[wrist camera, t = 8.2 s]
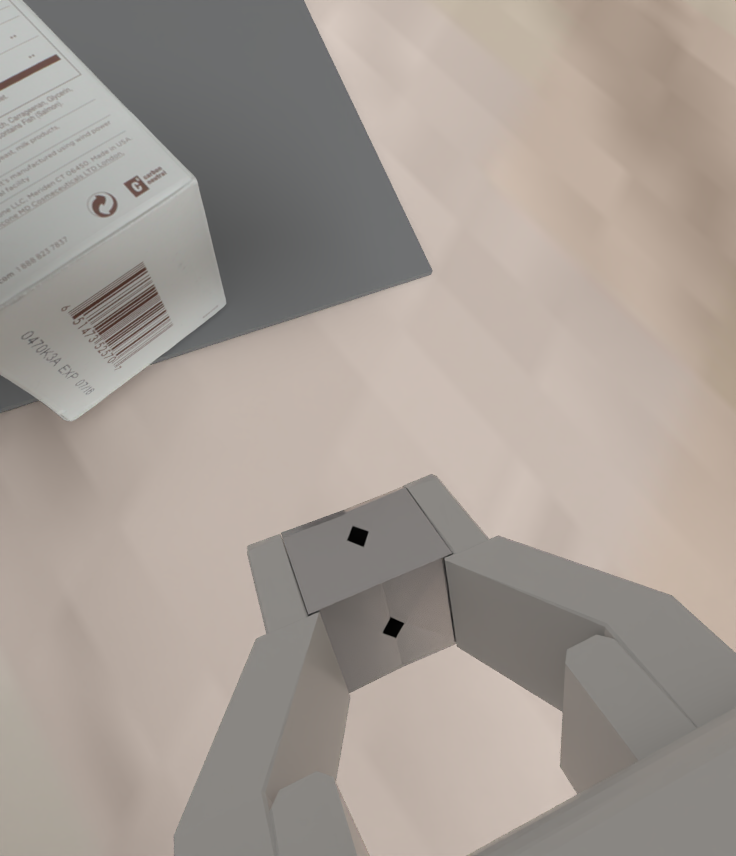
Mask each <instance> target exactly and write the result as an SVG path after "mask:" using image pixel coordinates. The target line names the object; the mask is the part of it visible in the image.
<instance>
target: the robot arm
mask: <svg viewBox="0 0 736 856" xmlns="http://www.w3.org/2000/svg"><path fill="white" fill-rule="evenodd" d="M281 535H282V537H281ZM282 538H283V539H282ZM247 555H248V559H249V563H250V567H251V572H252V576H253V580H254V584H255V588H256V592H257V597H258V601H259V605H260V609H261V613H262V617H263V622H264V626H265V630H266V635H263V636H261V637H259V638H257V639H256V640H255V642H254V645H253V647H252V650H251V652H250V654H249V657H248V659H247V662H246V664H245V666H244V669H243V671H242V674H241V676H240V678H239V681H238V683H237V686H236V688H235V690H234V693H233V695H232V698H231V700H230V702H229V705H228V707H227V710H226V712H225V714H224V717H223V719H222V722H221V724H220V726H219V729H218V731H217V733H216V736H215V738H214V741H213V743H212V745H211V748H210V750H209V753H208V755H207V757H206V760H205V762H204V765H203V767H202V769H201V772H200V774H199V777H198V779H197V781H196V784H195V786H194V789H193V791H192V793H191V796H190V798H189V801H188V803H187V805H186V808H185V810H184V813H183V815H182V817H181V820H180V822H179V825H178V827H177V829H176V832H175V834H174V856H370V855H369V853H368V851H367V848H366V846H365V844H364V842H363V840H362V838H361V835H360V833H359V831H358V829H357V827H356V825H355V822H354V820H353V818H352V816H351V814H350V812H349V809H348V807H347V805H346V803H345V801H344V799H343V796H342V794H341V792H340V790H339V788H338V786H337V783H336V778H337V772H338V767H339V761H340V755H341V749H342V743H343V738H344V732H345V726H346V720H347V714H348V708H349V703H350V694H349V693H351V692H353V691H355V690H357V689H359V688H361V687H363V686H365V685H367V684H369V683H371V682H373V681H375V680H377V679H379V678H381V677H383V676H385V675H387V674H389V673H391V672H393V671H395V670H397V669H399V668H401V667H403V666H406V665H408V664H410V663H413V662H415V661H417V660H420V659H422V658H424V657H426V656H429V655H431V654H433V653H436V652H438V651H440V650H443V649H445V648H447V647H450V646H452V645H454V644H457V647H459V648H460V649H462V650H463V651H465V652H467V653H468V654H470V655H471V656H473V657H475V658H476V659H478V660H480V661H481V662H483V663H484V664H486V665H488V666H489V667H491V668H492V669H494V670H496V671H497V672H499V673H501V674H502V675H504V676H505V677H507V678H509V679H510V680H512V681H513V682H515V683H517V684H518V685H520V686H522V687H523V688H525V689H526V690H528V691H530V692H531V693H533V694H534V695H536V696H538V697H539V698H541V699H543V700H544V701H546V702H547V703H549V704H551V705H552V706H554V707H555V708H557V709H559V710H560V711H562V712H563V718H562V737H561V757H560V767H561V769H562V770H563V772H564V774H565V775H566V777H567V778H568V780H569V782H570V783H571V785H572V786H573V788H574V789H575V791H576V793H577V795H575V796H574V797H572V798H570V799H568V800H566V801H565V802H563V803H561V804H559V805H557V806H555V807H554V808H552V809H550V810H548V811H546V812H545V813H543V814H541V815H539V816H537V817H536V818H534V819H532V820H530V821H528V822H527V823H525V824H523V825H521V826H519V827H517V828H516V829H514V830H512V831H510V832H508V833H507V834H505V835H503V836H501V837H499V838H498V839H496V840H494V841H492V842H490V843H489V844H487V845H485V846H483V847H481V848H480V849H478V850H476V851H474V852H472V853H470V854H469V855H467V856H736V653H735V652H734V651H733V650H732V649H731V648H729V647H728V646H727V645H726V644H725V643H724V642H723V641H722V640H721V639H719V638H718V637H717V636H716V635H715V634H714V633H713V632H712V631H711V630H710V629H708V628H707V627H706V626H705V625H704V624H703V623H702V622H701V621H700V620H698V619H697V618H696V617H695V616H694V615H693V614H692V613H691V612H690V611H689V610H687V609H686V608H685V607H684V606H683V605H682V604H681V603H680V602H679V601H677V600H676V599H675V598H674V597H673V596H672V595H669V594H666V593H663V592H660V591H657V590H654V589H652V588H649V587H646V586H643V585H640V584H637V583H634V582H631V581H628V580H626V579H623V578H620V577H617V576H614V575H611V574H608V573H605V572H602V571H600V570H597V569H594V568H591V567H588V566H585V565H582V564H579V563H576V562H574V561H571V560H568V559H565V558H562V557H559V556H556V555H553V554H550V553H548V552H545V551H542V550H539V549H536V548H533V547H530V546H527V545H524V544H522V543H519V542H516V541H513V540H510V539H507V538H504V537H501V536H496V537H494V538H491V539H489V538H488V537H487V536H486V535H485V533H484V532H483V531H482V530H481V529H480V527H479V526H478V525H477V524H476V523H475V521H474V520H473V519H472V518H471V517H470V515H469V514H468V513H467V512H466V511H465V509H464V508H463V507H462V506H461V505H460V503H459V502H458V501H457V500H456V499H455V497H454V496H453V495H452V494H451V493H450V491H449V490H448V489H447V488H446V487H445V485H444V484H443V483H442V482H441V481H440V479H439V478H438V477H437V476H435V475H433V474H430V475H428V476H426V477H423V478H421V479H418V480H416V481H413V482H411V483H409V484H406V485H404V486H403V487H400V488H398V489H395V490H393V491H390V492H388V493H385V494H383V495H380V496H378V497H375V498H373V499H370V500H368V501H365V502H363V503H360V504H357V505H355V506H352V507H350V508H347V509H345V510H343V511H340V512H337V513H334V514H332V515H329V516H326V517H323V518H321V519H318V520H315V521H312V522H310V523H307V524H304V525H301V526H299V527H296V528H293V529H290V530H288V531H285V532H282V533H281V534H278V535H276V536H273V537H270V538H267V539H265V540H262V541H259V542H256V543H254V544H251V545H248V546H247Z"/></svg>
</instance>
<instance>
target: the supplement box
mask: <svg viewBox="0 0 736 856" xmlns="http://www.w3.org/2000/svg"><path fill="white" fill-rule="evenodd" d="M225 305H226V298H225V295H224V290H223V286H222V282H221V278H220V274H219V269H218V265H217V261H216V257H215V253H214V249H213V244H212V240H211V236H210V232H209V228H208V223H207V219H206V215H205V211H204V207H203V203H202V199H201V195H200V191H199V186H198V182H197V179H196V178H195V176H194V175H193V174H192V173H191V172H190V171H189V170H188V169H187V168H186V167H185V166H184V165H183V164H182V163H181V162H180V161H179V160H178V159H177V158H176V157H175V156H174V155H173V154H172V153H171V152H170V151H169V150H168V149H167V148H166V147H165V146H164V145H163V144H162V143H161V142H160V141H159V140H158V139H157V138H156V137H155V136H154V135H153V134H152V133H151V132H150V131H149V130H148V129H147V128H146V127H145V126H144V124H143V123H142V122H141V121H140V120H139V119H138V118H137V117H136V116H135V115H134V114H133V113H132V112H130V111H129V110H128V109H127V108H126V107H125V106H124V105H123V104H122V103H121V101H120V100H119V99H118V98H117V97H116V96H115V95H114V94H113V93H112V92H111V91H110V90H109V89H108V88H107V87H106V86H105V85H104V84H103V83H102V82H101V81H100V80H99V79H98V78H97V77H96V76H95V74H94V73H93V72H92V71H91V70H90V69H89V68H88V67H87V66H86V65H85V64H84V63H83V62H82V61H81V60H80V59H79V58H78V57H77V56H76V55H75V54H74V53H73V52H72V51H71V50H70V49H69V48H68V47H67V46H66V45H65V44H64V43H63V42H62V41H61V39H60V38H59V37H58V36H57V35H56V34H55V33H54V32H53V31H52V30H51V29H50V28H49V27H48V26H47V25H46V24H45V23H44V22H43V21H42V20H41V19H40V18H39V17H38V16H37V15H36V14H35V13H34V12H33V11H32V10H31V8H30V7H29V6H28V5H27V4H26V3H25V2H24V1H23V0H0V375H1V376H3V377H4V378H6V379H8V380H9V381H11V382H12V383H14V384H15V385H17V386H19V387H20V388H22V389H23V390H25V391H26V392H28V393H29V394H31V395H32V396H34V397H35V398H36V399H38V400H39V401H41V402H42V403H43V404H45V405H46V406H47V407H49V408H50V409H51V410H53V411H54V412H55V413H56V414H57V415H59V416H60V417H61V418H62V419H64V420H66V421H73V420H75V419H77V418H79V417H80V416H81V415H83V414H84V413H86V412H87V411H88V410H90V409H91V408H93V407H94V406H95V405H97V404H98V403H99V402H100V401H102V400H103V399H104V398H105V397H107V396H108V395H109V394H111V393H112V392H113V391H115V390H116V389H117V388H119V387H120V386H122V385H123V384H124V383H126V382H127V381H128V380H129V379H131V378H132V377H133V376H135V375H136V374H138V373H139V372H140V371H142V370H143V369H144V368H146V367H147V366H148V365H150V364H151V363H152V362H153V361H155V360H156V359H157V358H158V357H160V356H161V355H162V354H164V353H165V352H167V351H168V350H169V349H171V348H172V347H173V346H174V345H176V344H177V343H178V342H179V341H181V340H182V339H183V338H185V337H186V336H187V335H189V334H190V333H191V332H193V331H194V330H195V329H197V328H198V327H199V326H200V325H202V324H203V323H204V322H205V321H207V320H208V319H209V318H211V317H212V316H213V315H215V314H216V313H217V312H218V311H219V310H221V309H222V308H223V307H224V306H225Z"/></svg>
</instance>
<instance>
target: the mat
mask: <svg viewBox="0 0 736 856" xmlns="http://www.w3.org/2000/svg"><path fill="white" fill-rule="evenodd" d="M23 1H24V2H25V3H26V4H27V5H28V6H29V7H30V8H31V10H32V11H33V12H34V13H35V14H36V15H37V16H38V17H39V18H40V19H41V20H42V21H43V22H44V23H45V24H46V25H47V26H48V27H49V28H50V29H51V30H52V31H53V32H54V33H55V34H56V35H57V36H58V37H59V38H60V39H61V41H62V42H63V43H64V44H65V45H66V46H67V47H68V48H69V49H70V50H71V51H72V52H73V53H74V54H75V55H76V56H77V57H78V58H79V59H80V60H81V61H82V62H83V63H84V64H85V65H86V66H87V67H88V68H89V69H90V70H91V71H92V72H93V73H94V74H95V76H96V77H97V78H98V79H99V80H100V81H101V82H102V83H103V84H104V85H105V86H106V87H107V88H108V89H109V90H110V91H111V92H112V93H113V94H114V95H115V96H116V97H117V98H118V99H119V100H120V101H121V103H122V104H123V105H124V106H125V107H126V108H127V109H128V110H129V111H130V112H132V113H133V114H134V115H135V116H136V117H137V118H138V119H139V120H140V121H141V122H142V123H143V124H144V126H145V127H146V128H147V129H148V130H149V131H150V132H151V133H152V134H153V135H154V136H155V137H156V138H157V139H158V140H159V141H160V142H161V143H162V144H163V145H164V146H165V147H166V148H167V149H168V150H169V151H170V152H171V153H172V154H173V155H174V156H175V157H176V158H177V159H178V160H179V161H180V162H181V163H182V164H183V165H184V166H185V167H186V168H187V169H188V170H189V171H190V172H191V173H192V174H193V175H194V176H195V178H196V179H197V182H198V186H199V191H200V195H201V199H202V203H203V207H204V211H205V215H206V219H207V223H208V228H209V232H210V236H211V240H212V244H213V249H214V253H215V257H216V261H217V265H218V269H219V274H220V278H221V282H222V286H223V290H224V295H225V298H226V305H225V306H224V307H223V308H222V309H221V310H219V311H218V312H217V313H216V314H215V315H213V316H212V317H211V318H209V319H208V320H207V321H205V322H204V323H203V324H202V325H200V326H199V327H198V328H197V329H195V330H194V331H193V332H191V333H190V334H189V335H187V336H186V337H185V338H183V339H182V340H181V341H179V342H178V343H177V344H176V345H174V346H173V347H172V348H171V349H169V350H168V351H167V352H165V353H164V354H162V355H161V356H160V357H158V358H157V359H156V360H155V361H153V362H152V363H151V364H154V363H157V362H160V361H163V360H166V359H169V358H172V357H176V356H179V355H182V354H185V353H188V352H191V351H194V350H197V349H200V348H204V347H207V346H210V345H213V344H216V343H219V342H222V341H225V340H228V339H232V338H235V337H238V336H241V335H244V334H247V333H250V332H253V331H256V330H260V329H263V328H266V327H269V326H272V325H275V324H278V323H281V322H284V321H288V320H291V319H294V318H297V317H300V316H303V315H306V314H309V313H313V312H316V311H319V310H322V309H325V308H328V307H331V306H334V305H337V304H341V303H344V302H347V301H350V300H353V299H356V298H359V297H362V296H365V295H369V294H372V293H375V292H378V291H381V290H384V289H387V288H390V287H393V286H397V285H400V284H403V283H406V282H409V281H412V280H415V279H418V278H421V277H425V276H428V275H431V273H432V269H431V267H430V264H429V262H428V260H427V258H426V256H425V254H424V252H423V250H422V248H421V246H420V243H419V241H418V239H417V237H416V235H415V233H414V231H413V229H412V227H411V225H410V223H409V220H408V218H407V216H406V214H405V212H404V210H403V208H402V206H401V204H400V202H399V199H398V197H397V195H396V193H395V191H394V189H393V187H392V185H391V183H390V181H389V178H388V176H387V174H386V172H385V170H384V168H383V166H382V164H381V162H380V160H379V157H378V155H377V153H376V151H375V149H374V147H373V145H372V143H371V141H370V139H369V136H368V134H367V132H366V130H365V128H364V126H363V124H362V122H361V120H360V118H359V115H358V113H357V111H356V109H355V107H354V105H353V103H352V101H351V99H350V97H349V94H348V92H347V90H346V88H345V86H344V84H343V82H342V80H341V78H340V76H339V74H338V71H337V69H336V67H335V65H334V63H333V61H332V59H331V57H330V55H329V53H328V50H327V48H326V46H325V44H324V42H323V40H322V38H321V36H320V34H319V32H318V29H317V27H316V25H315V23H314V21H313V19H312V17H311V15H310V13H309V11H308V8H307V6H306V4H305V2H304V0H23ZM151 364H150V365H151ZM35 401H39V400H38V399H36V398H35V397H34V396H32V395H31V394H29V393H28V392H26V391H25V390H23V389H22V388H20V387H19V386H17V385H15V384H14V383H12V382H11V381H9V380H8V379H6V378H4V377H3V376H1V375H0V413H1V412H4V411H7V410H11V409H14V408H17V407H20V406H23V405H26V404H29V403H32V402H35Z"/></svg>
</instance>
